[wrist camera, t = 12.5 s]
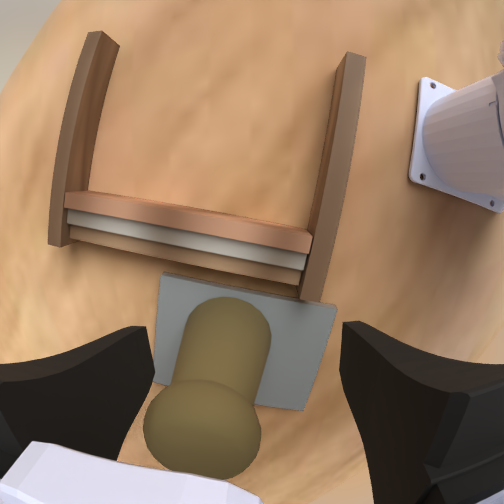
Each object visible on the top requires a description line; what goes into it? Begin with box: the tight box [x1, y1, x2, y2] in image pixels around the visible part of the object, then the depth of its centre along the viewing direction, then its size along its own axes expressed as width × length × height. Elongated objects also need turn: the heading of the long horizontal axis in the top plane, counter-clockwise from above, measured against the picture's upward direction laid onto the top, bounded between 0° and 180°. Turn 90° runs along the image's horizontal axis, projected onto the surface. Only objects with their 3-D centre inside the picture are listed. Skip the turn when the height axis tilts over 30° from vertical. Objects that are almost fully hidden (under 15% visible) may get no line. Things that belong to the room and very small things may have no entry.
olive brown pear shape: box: [143, 297, 272, 480], centre depth 16 cm, size 6×6×11 cm
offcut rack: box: [48, 31, 366, 302], centre depth 18 cm, size 18×15×3 cm
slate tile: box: [153, 272, 337, 411], centre depth 22 cm, size 12×9×1 cm
